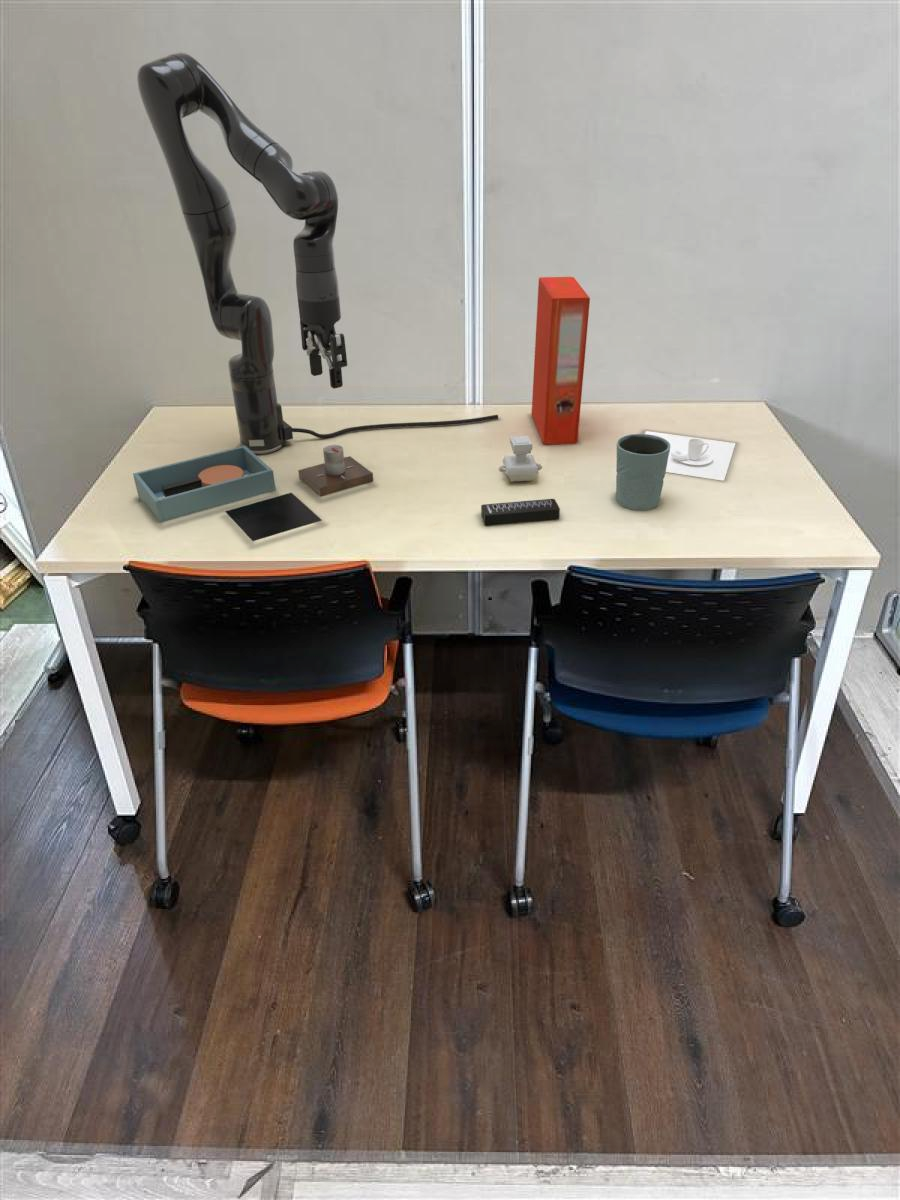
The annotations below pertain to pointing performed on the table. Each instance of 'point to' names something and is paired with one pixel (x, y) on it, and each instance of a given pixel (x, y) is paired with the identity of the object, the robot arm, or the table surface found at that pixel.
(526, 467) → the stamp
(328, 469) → the tap dial
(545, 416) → the file binder
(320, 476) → the rotary knob panel
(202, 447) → the table surface
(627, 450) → the green cup
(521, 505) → the multiport hub
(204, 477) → the pan
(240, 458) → the basin
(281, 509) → the plate
